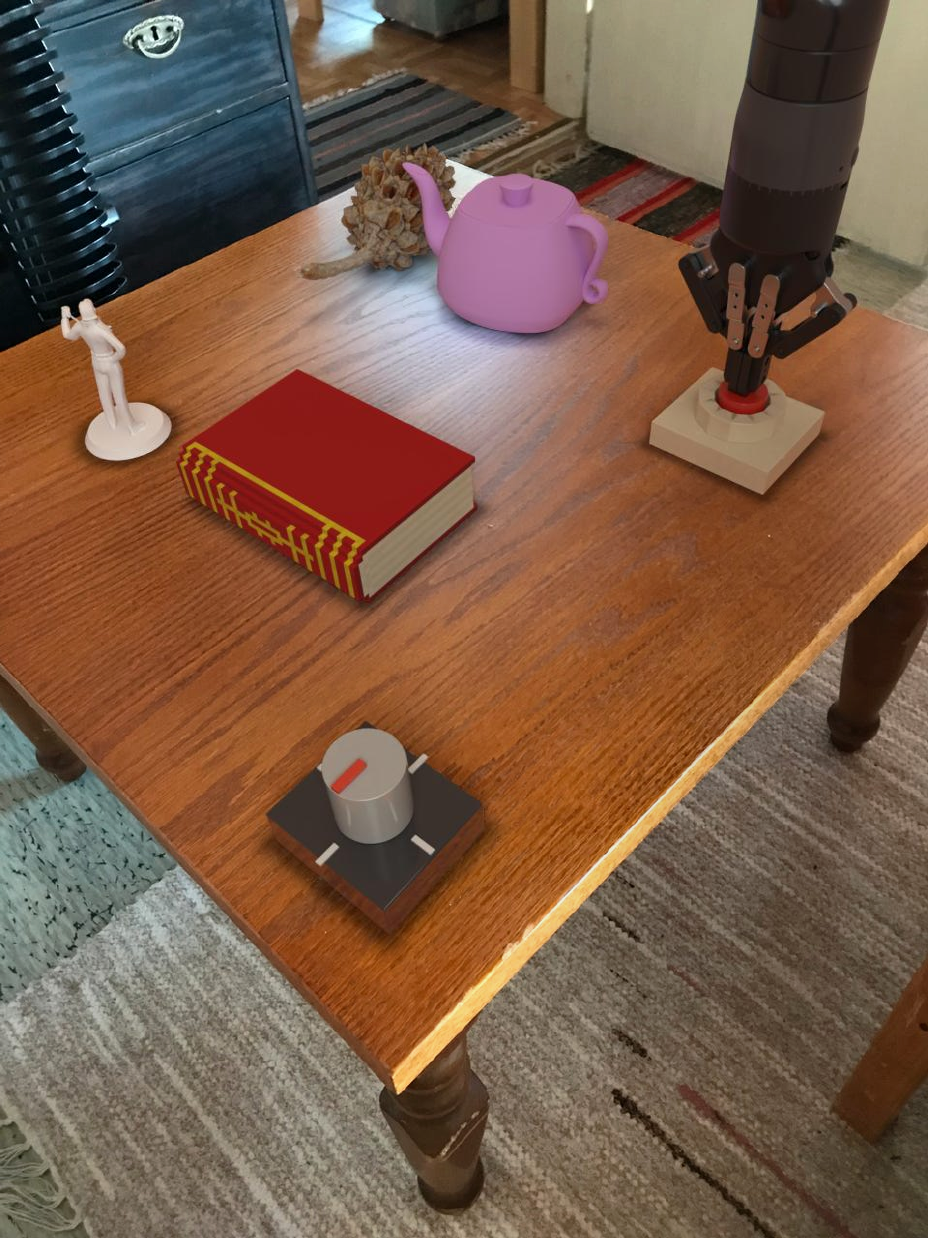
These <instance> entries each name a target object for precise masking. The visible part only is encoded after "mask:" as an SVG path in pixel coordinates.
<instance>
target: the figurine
mask: <svg viewBox="0 0 928 1238" xmlns="http://www.w3.org/2000/svg"><path fill="white" fill-rule="evenodd" d="M78 309H79V313H80V316H81V320H79V319H77V318H76V317H74V316H73V315H72V313H71V308H70V307H69V306H68V305H64V306H61V307H60V310H61V319H60V326H61V332H62V333H61V334H62V336H63V338H64V339H66V340H68V341H78V339H79V338H81V339H83V341H84V343H86V345H87V346H88V347H89V350H90V355H91V356H90V357H91V367H92V370H93V374H94V379H95V383H96V387H97V391H98V396H99V400H100V404H101V406H102V412H100V413H99V414H98V415H96V417H94V418H93V419H92V421H91V422H90V424H89V426H88V428H87V431H86V434H85V438H84V445H85V447H86V449H87V450H88V452H89V453H91V454H92V455H93V456H94V457H96V458H98V459H101V460H102V459H103V460H107V461H127V460H131V459H135V458H139V457H142V456H145V455H147V454H148V453H151V452H153V451H154V450H156V449H158V448H159V447H160V446H161V445H163V444H164V443H165V442H166V440H168V438H169V436H170V434H171V433H172V420H171V418H170V416H168V415H167V414H166V413H165V412H164V411H163V410H161V409H160V408H157V407H156V406H154V405H152V404H149V403H145V402H128V399H127V395H126V389H125V376H124V371H123V367H122V364H121V363H120V361H121V360H122V359H123V358H124V357H125V356H126V354H127V351H126V346H125V345H124V344H123V343H122V342H121V341H120V340H119V339H118V338H117V337H116V336H115V334H114V332H113V329H112V327H113V326H112V325H106V323H104V322H103V321H102V320H101V318H100V315H97V314H96V307H94V303H93V302H92V300H91V299H89V298H85V299H83V300H82V301H80V302H79V303H78ZM70 318H71V319H72V320H74V321H75V323H74V324H73V326H72V327H71V324H70ZM114 349H115V351H114ZM114 403H115V405H114Z"/></svg>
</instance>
